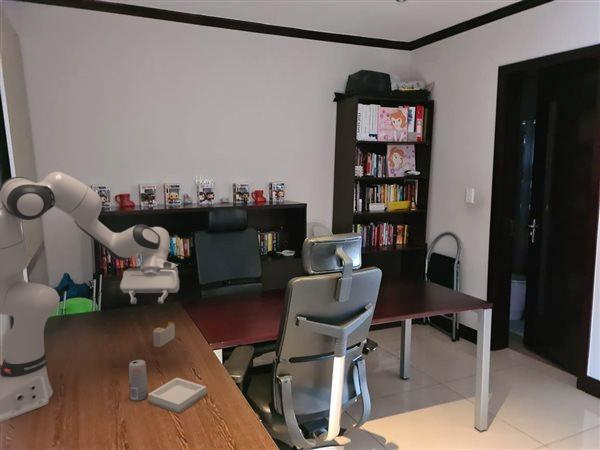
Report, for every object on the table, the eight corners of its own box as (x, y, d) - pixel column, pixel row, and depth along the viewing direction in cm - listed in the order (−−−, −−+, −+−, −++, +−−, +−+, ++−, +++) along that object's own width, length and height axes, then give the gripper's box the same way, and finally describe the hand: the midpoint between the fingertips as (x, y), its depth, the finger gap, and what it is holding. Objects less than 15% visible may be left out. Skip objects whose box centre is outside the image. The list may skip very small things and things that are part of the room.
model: (153, 347, 193) (153, 329, 192) (168, 337, 203) (168, 321, 202) (160, 348, 192) (159, 330, 191) (175, 338, 202) (174, 322, 201)
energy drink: (141, 391, 156) (140, 357, 154) (150, 396, 152) (149, 362, 151) (126, 397, 152) (125, 363, 150) (135, 403, 148) (134, 368, 147)
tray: (178, 413, 143) (178, 404, 142) (148, 402, 149) (148, 394, 148) (206, 394, 154) (206, 386, 153) (176, 385, 160) (176, 377, 160)
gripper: (121, 264, 165) (113, 299, 158) (179, 263, 166) (174, 299, 158) (127, 272, 171) (119, 307, 163) (182, 272, 171) (177, 306, 163)
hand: (146, 303), depth 161 cm, fingers open, 8 cm apart
